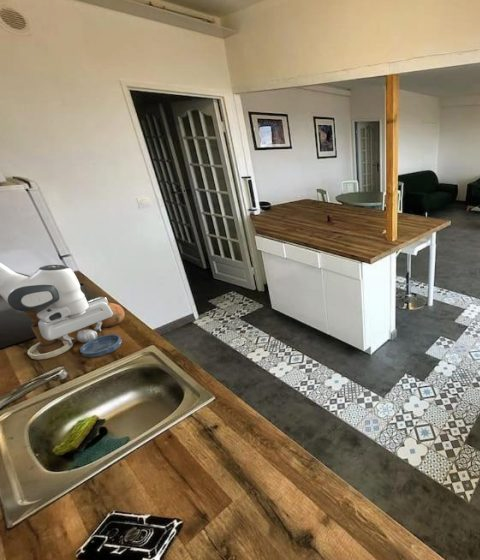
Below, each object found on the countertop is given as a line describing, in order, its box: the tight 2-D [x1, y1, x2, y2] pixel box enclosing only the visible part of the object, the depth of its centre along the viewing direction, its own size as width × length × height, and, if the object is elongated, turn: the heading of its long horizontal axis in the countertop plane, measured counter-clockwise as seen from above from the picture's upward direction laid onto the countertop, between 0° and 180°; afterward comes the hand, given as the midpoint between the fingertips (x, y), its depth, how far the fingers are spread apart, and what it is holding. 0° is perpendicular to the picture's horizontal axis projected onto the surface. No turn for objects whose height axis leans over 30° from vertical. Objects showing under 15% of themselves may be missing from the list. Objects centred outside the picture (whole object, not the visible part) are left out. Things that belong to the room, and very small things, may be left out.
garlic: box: [76, 328, 99, 344], centre depth 120 cm, size 6×5×5 cm
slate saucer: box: [79, 333, 123, 359], centre depth 117 cm, size 12×12×2 cm
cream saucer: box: [26, 335, 74, 361], centre depth 115 cm, size 12×12×2 cm
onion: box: [101, 302, 125, 328], centre depth 129 cm, size 10×10×10 cm
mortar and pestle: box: [23, 310, 64, 354], centre depth 112 cm, size 7×6×18 cm
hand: (85, 337), depth 120 cm, fingers open, 7 cm apart
